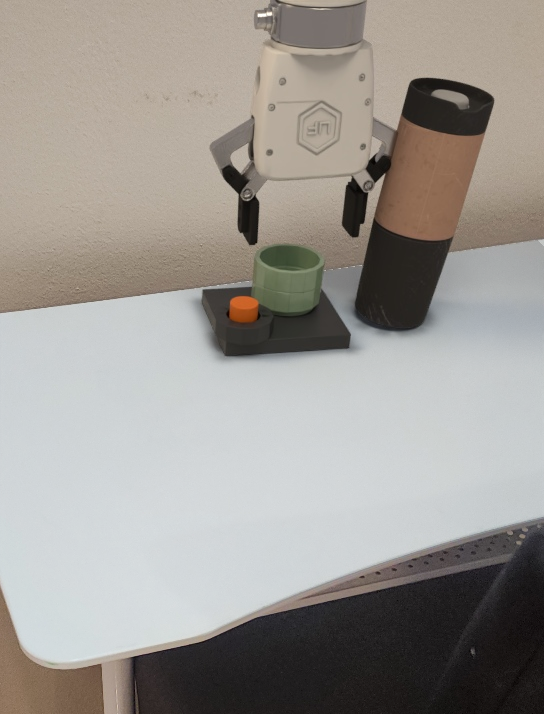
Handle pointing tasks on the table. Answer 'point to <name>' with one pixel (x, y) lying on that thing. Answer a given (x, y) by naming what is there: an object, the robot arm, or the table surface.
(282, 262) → the bowl
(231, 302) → the button
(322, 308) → the scale
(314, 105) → the robot arm
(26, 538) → the table surface
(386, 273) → the travel mug
